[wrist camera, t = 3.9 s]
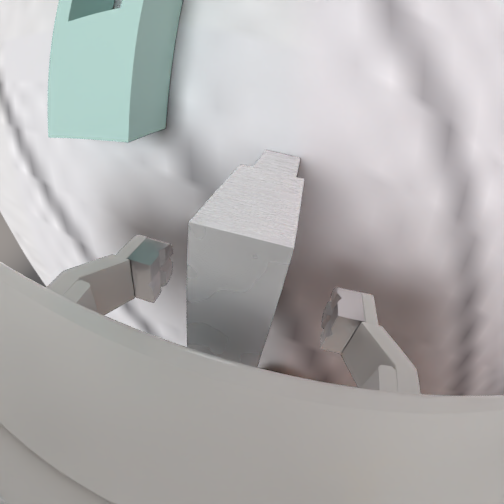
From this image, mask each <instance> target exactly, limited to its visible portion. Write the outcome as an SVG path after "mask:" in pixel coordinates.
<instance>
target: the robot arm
mask: <svg viewBox="0 0 504 504" xmlns="http://www.w3.org/2000/svg"><path fill="white" fill-rule="evenodd" d="M172 254H173V248H172V245H171V244H170V243H167V242H163V241H160V240H156V239H153V238H150V237H146V236H142V235H135V236H134V237H133V238H132V239H131V240H130V241H129V242H128V243H127V244H126V245H125V246H124V247H123V248H122V249H121V250H120V251H119V252H118V253H117V254H116V255H113V254H112V255H108V256H105V257H102V258H99V259H96V260H93V261H91V262H88V263H85V264H82V265H79V266H76V267H73V268H70V269H67V270H64V271H63V272H61V273H60V274H59V275H58V276H57V277H56V278H55V279H54V280H53V281H52V282H51V283H50V284H49V285H48V286H47V287H44V286H42V285H40V284H38V283H36V282H34V281H33V280H31V279H29V278H27V277H25V276H24V275H22V274H20V273H18V272H17V271H15V270H13V269H11V268H10V267H8V266H7V265H5V264H3V263H1V262H0V504H504V395H491V396H446V395H425V394H421V393H420V386H419V379H418V373H417V369H416V367H415V366H414V365H413V364H412V362H411V361H410V360H409V359H408V357H407V356H406V355H405V354H404V352H403V351H402V350H401V349H400V347H399V346H398V345H397V344H396V342H395V341H394V340H393V339H392V337H391V336H390V335H389V334H388V333H387V331H386V330H385V329H384V328H383V327H382V326H380V325H378V318H377V312H376V306H375V301H374V296H373V295H372V294H368V293H363V292H357V291H353V290H348V289H344V288H340V287H336V286H335V288H334V289H333V291H332V293H331V301H330V302H328V303H327V305H326V307H325V310H324V313H323V316H322V325H321V327H322V328H323V329H324V330H323V332H322V334H321V343H320V349H322V350H327V351H331V352H335V353H340V354H341V356H342V358H343V360H344V362H345V364H346V365H347V367H348V369H349V371H350V373H351V375H352V377H353V379H354V381H355V383H356V385H357V387H358V388H357V387H350V386H344V385H338V384H332V383H326V382H320V381H315V380H310V379H305V378H300V377H295V376H291V375H286V374H282V373H277V372H273V371H269V370H265V369H261V368H257V367H253V366H249V365H245V364H242V363H238V362H234V361H231V360H227V359H224V358H220V357H217V356H214V355H210V354H207V353H204V352H201V351H197V350H194V349H191V348H188V347H185V346H182V345H179V344H176V343H173V342H170V341H168V340H165V339H162V338H159V337H157V336H154V335H151V334H148V333H146V332H143V331H141V330H138V329H135V328H133V327H130V326H128V325H125V324H123V323H121V322H118V321H116V320H113V319H111V318H109V317H106V316H104V315H105V314H107V313H109V312H111V311H113V310H114V309H116V308H118V307H120V306H122V305H123V304H125V303H127V302H129V301H131V300H132V299H134V298H135V297H137V298H140V299H143V300H146V301H149V302H152V303H154V302H155V301H156V299H157V298H158V296H159V295H160V293H161V287H162V286H165V285H167V283H168V282H169V280H170V277H171V275H172V270H173V262H172V260H171V259H170V256H171V255H172Z"/></svg>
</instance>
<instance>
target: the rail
mask: <svg viewBox="0 0 504 504" xmlns="http://www.w3.org/2000/svg"><path fill="white" fill-rule="evenodd" d="M182 2H183V0H122V4H121V8H117V9H113V5H114V0H59V3H58V8H57V13H56V18H55V24H54V30H53V37H52V44H51V53H50V64H49V78H48V136H49V137H51V138H77V139H93V140H106V141H118V142H131V141H133V140H136V139H138V138H141V137H143V136H146V135H149V134H151V133H154V132H157V131H159V130H162V129H165V128H166V116H167V104H168V94H169V85H170V76H171V68H172V61H173V54H174V47H175V40H176V34H177V28H178V23H179V17H180V12H181V7H182Z"/></svg>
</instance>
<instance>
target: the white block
mask: <svg viewBox="0 0 504 504" xmlns="http://www.w3.org/2000/svg"><path fill="white" fill-rule="evenodd" d="M299 163H300V158H299V157H295V156H291V155H287V154H283V153H278V152H274V151H269V150H265V151H264V153H263V154H262V155H261V156H260V158H259V159H258V160H257V162H256V163H255V164H254V165H253V167H251V166H246V165H241V164H240V165H239V167H238V168H237V169H236V170H235V171H234V172H233V173H232V174H231V175H230V176H229V177H228V178H227V179H226V181H225V182H224V183H223V184H222V185H221V186H220V187H219V188H218V189H217V190H216V192H215V193H214V194H213V195H212V196H211V197H210V198H209V199H208V200H207V202H206V203H205V204H204V205H203V206H202V207H201V208H200V210H199V211H198V212H197V213H196V214H195V215H194V216H193V218H192V219H191V220H190V221H189V222H188V247H187V347H188V348H191V349H194V350H197V351H201V352H204V353H207V354H210V355H214V356H217V357H220V358H224V359H227V360H231V361H234V362H238V363H242V364H245V365H249V366H253V367H257V366H258V363H259V360H260V357H261V354H262V351H263V348H264V345H265V342H266V339H267V336H268V332H269V329H270V326H271V323H272V320H273V317H274V314H275V310H276V307H277V304H278V301H279V297H280V294H281V291H282V288H283V284H284V281H285V278H286V274H287V271H288V268H289V264H290V261H291V257H292V254H293V250H294V246H295V240H296V233H297V227H298V220H299V213H300V207H301V200H302V193H303V186H304V179H303V178H299V177H296V176H297V172H298V167H299Z"/></svg>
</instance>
